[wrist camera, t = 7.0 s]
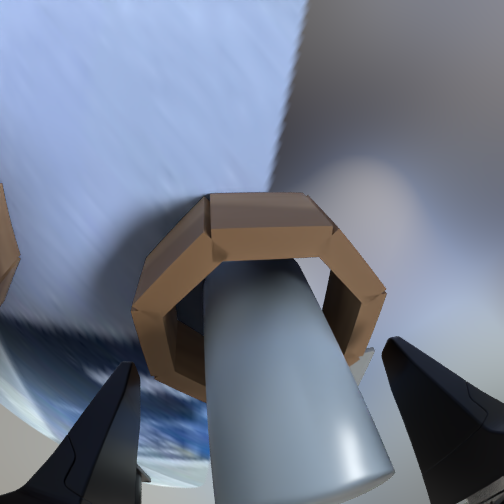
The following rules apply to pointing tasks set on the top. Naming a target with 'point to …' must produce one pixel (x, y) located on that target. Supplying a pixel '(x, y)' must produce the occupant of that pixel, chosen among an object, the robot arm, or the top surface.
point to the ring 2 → (239, 249)
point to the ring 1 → (6, 249)
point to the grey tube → (282, 393)
